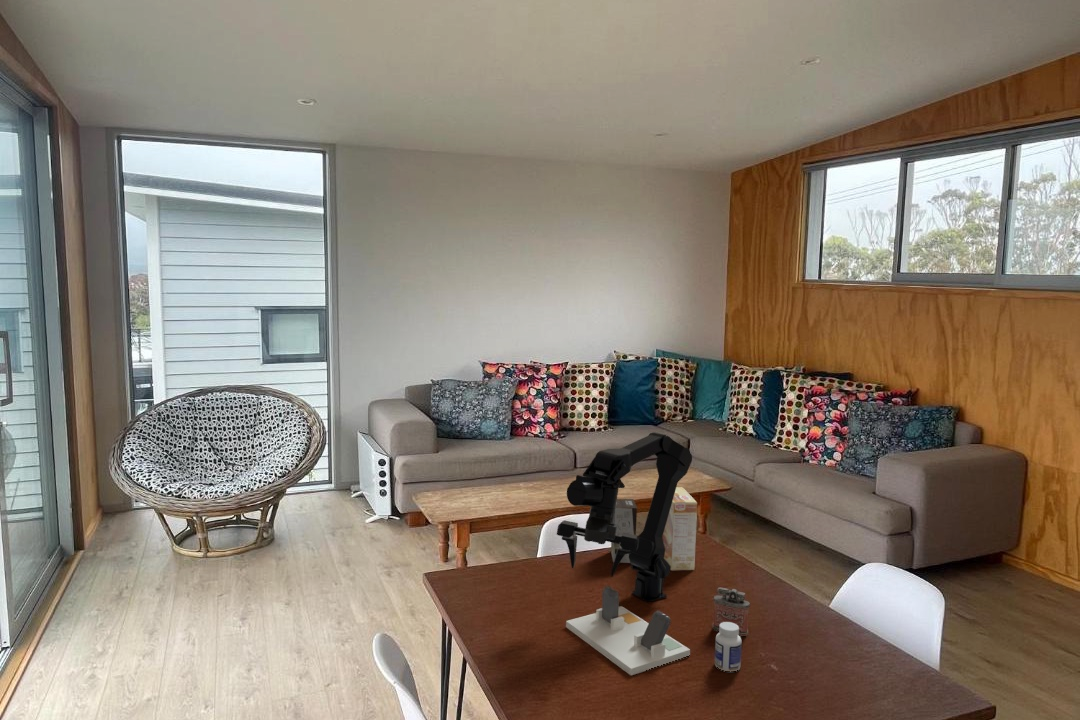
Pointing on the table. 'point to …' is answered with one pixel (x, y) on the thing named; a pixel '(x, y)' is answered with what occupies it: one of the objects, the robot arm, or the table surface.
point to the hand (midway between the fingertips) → (592, 572)
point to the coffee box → (624, 523)
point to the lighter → (731, 609)
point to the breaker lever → (610, 604)
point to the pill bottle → (728, 647)
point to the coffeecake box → (681, 531)
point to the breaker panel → (630, 639)
